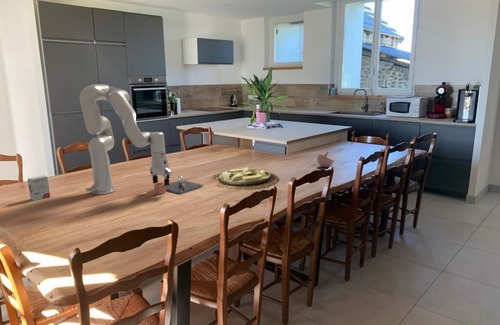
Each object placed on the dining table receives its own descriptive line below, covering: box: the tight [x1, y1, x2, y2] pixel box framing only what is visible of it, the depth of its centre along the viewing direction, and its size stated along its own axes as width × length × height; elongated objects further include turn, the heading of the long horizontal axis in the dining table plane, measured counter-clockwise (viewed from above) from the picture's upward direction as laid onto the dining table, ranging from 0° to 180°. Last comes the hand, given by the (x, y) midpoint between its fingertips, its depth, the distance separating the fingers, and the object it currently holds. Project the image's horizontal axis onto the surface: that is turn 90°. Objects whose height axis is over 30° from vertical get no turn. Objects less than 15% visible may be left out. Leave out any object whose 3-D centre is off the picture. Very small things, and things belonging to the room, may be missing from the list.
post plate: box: [166, 175, 204, 195], centre depth 217 cm, size 18×18×7 cm
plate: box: [209, 166, 280, 191], centre depth 236 cm, size 45×45×7 cm
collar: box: [146, 181, 167, 197], centre depth 207 cm, size 12×6×5 cm, turn 144°
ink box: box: [27, 174, 51, 202], centre depth 199 cm, size 9×5×12 cm, turn 141°
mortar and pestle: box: [316, 151, 335, 168], centre depth 266 cm, size 12×12×12 cm
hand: (161, 184), depth 209 cm, fingers open, 9 cm apart
